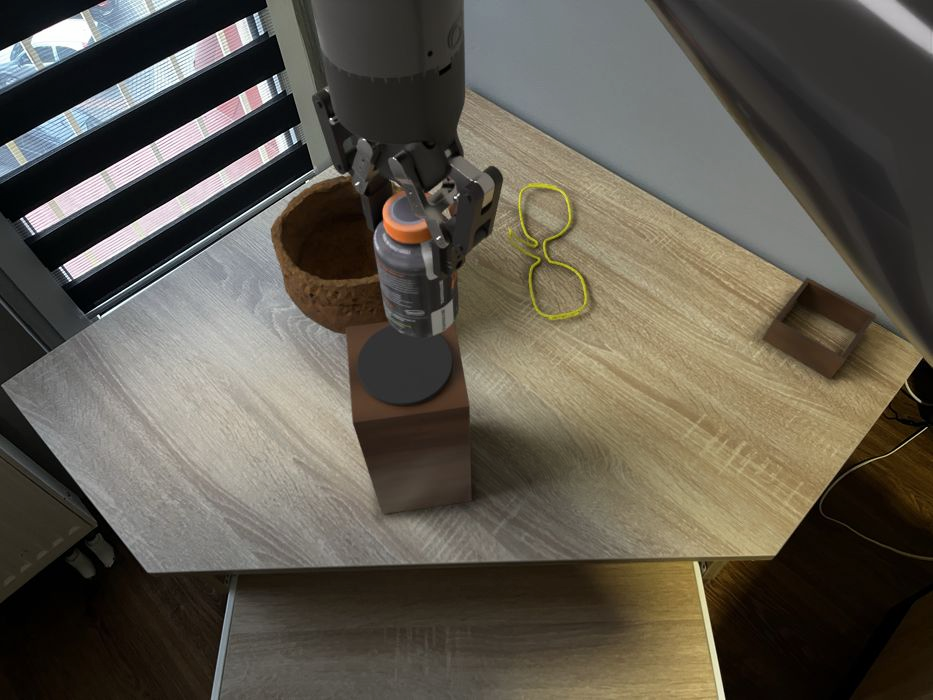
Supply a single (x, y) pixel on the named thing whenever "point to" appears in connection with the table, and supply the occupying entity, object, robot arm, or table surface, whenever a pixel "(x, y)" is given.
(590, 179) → the table surface
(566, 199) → the glasses
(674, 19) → the robot arm
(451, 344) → the stand
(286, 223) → the bowl
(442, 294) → the pill bottle
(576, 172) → the table surface
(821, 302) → the brown wooden square box
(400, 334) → the coaster
